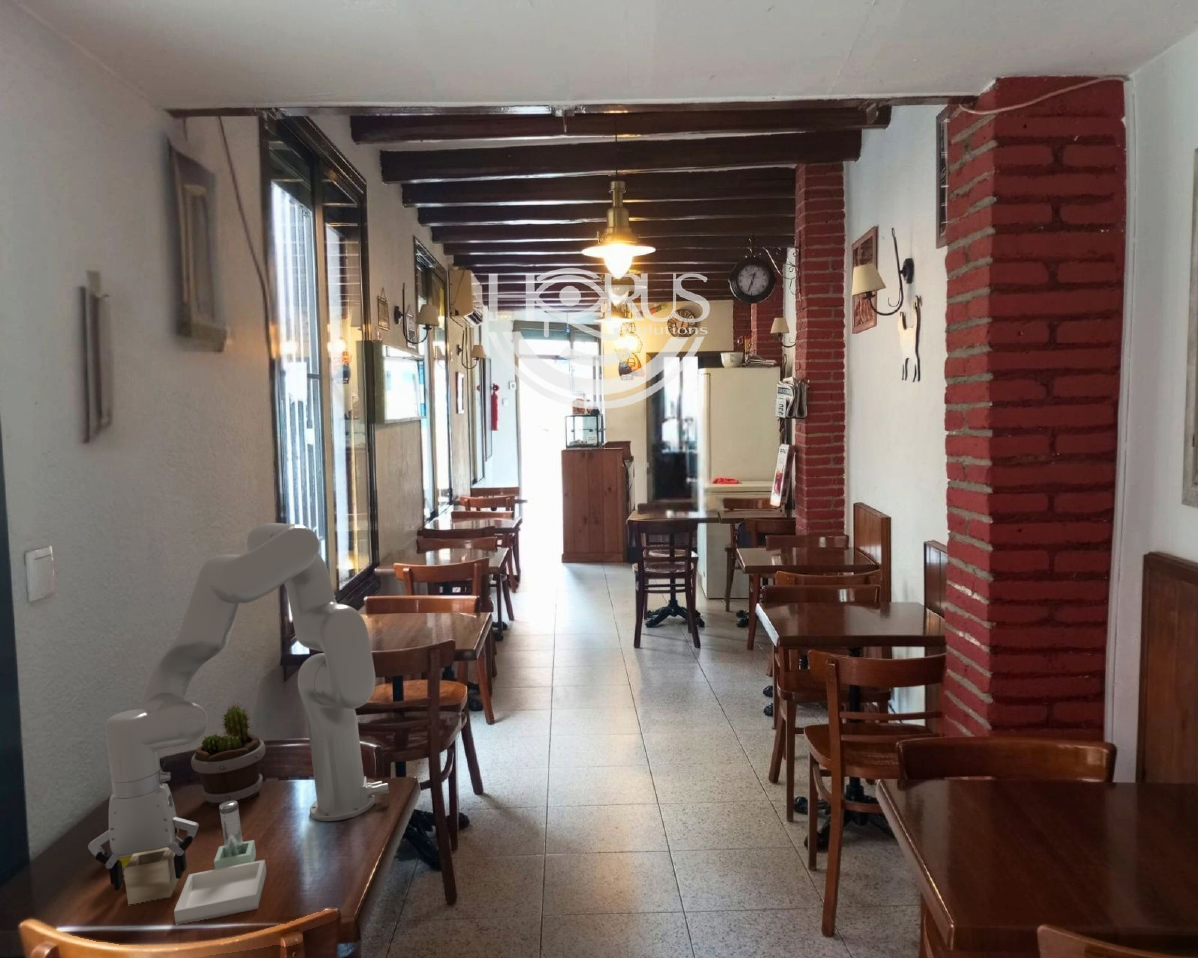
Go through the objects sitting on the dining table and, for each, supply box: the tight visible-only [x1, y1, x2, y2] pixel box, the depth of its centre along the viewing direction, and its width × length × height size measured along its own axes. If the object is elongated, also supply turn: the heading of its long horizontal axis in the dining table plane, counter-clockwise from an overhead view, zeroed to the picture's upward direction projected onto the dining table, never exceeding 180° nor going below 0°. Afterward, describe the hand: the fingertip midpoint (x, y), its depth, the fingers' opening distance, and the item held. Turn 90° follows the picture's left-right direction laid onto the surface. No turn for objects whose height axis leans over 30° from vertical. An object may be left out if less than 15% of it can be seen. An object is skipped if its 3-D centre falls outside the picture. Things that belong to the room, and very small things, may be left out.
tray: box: [173, 859, 267, 925], centre depth 155 cm, size 12×12×2 cm
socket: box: [213, 839, 257, 869], centre depth 166 cm, size 6×6×3 cm
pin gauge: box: [218, 800, 244, 857], centre depth 166 cm, size 3×3×11 cm
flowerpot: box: [190, 701, 266, 807], centre depth 197 cm, size 14×15×20 cm
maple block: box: [124, 847, 179, 906], centre depth 159 cm, size 7×7×6 cm
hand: (150, 880), depth 159 cm, fingers open, 9 cm apart
